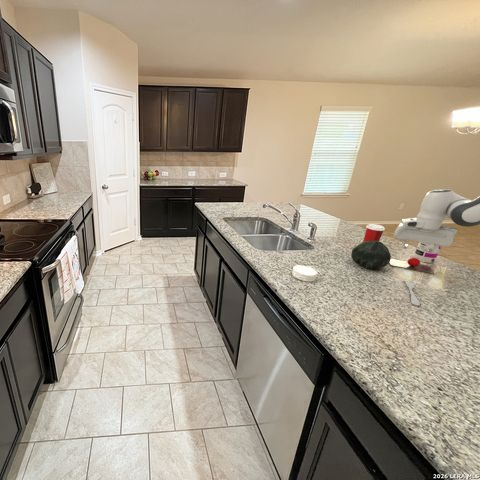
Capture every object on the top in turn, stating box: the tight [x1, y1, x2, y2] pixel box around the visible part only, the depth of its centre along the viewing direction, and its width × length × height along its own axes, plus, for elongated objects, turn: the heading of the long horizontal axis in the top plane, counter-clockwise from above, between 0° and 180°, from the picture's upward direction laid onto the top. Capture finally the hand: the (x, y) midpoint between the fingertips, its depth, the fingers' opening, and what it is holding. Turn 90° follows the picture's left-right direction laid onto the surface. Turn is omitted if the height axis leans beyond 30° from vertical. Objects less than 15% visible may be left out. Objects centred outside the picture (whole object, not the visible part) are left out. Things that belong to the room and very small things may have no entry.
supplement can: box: [413, 242, 443, 264], centre depth 132 cm, size 8×8×15 cm
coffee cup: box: [362, 223, 386, 242], centre depth 144 cm, size 8×8×15 cm
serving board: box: [388, 258, 435, 275], centre depth 128 cm, size 16×10×1 cm, turn 57°
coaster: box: [291, 264, 318, 283], centre depth 117 cm, size 10×10×4 cm
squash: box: [350, 240, 392, 270], centre depth 126 cm, size 14×15×15 cm
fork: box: [405, 281, 421, 307], centre depth 105 cm, size 3×21×3 cm, turn 145°
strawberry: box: [407, 257, 421, 267], centre depth 127 cm, size 4×4×4 cm
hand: (416, 250), depth 125 cm, fingers open, 8 cm apart
